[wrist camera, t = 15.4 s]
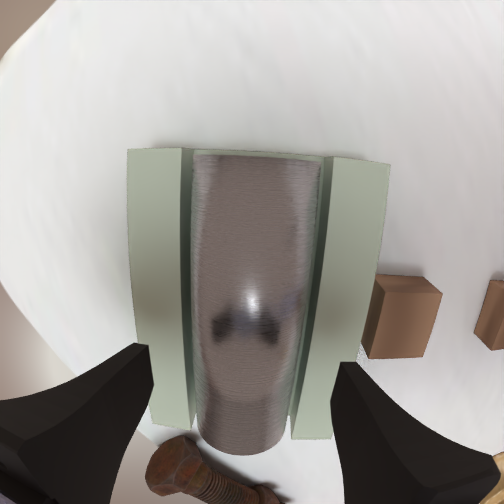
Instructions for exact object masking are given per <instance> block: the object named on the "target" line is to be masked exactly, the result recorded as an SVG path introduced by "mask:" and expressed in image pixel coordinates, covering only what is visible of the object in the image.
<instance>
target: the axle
mask: <svg viewBox="0 0 504 504" xmlns="http://www.w3.org/2000/svg"><path fill="white" fill-rule="evenodd" d="M320 172H321V162H316V161H308V160H298V159H287V158H274V157H260V156H241V155H207V154H194V155H193V160H192V187H191V319H192V346H193V367H194V384H195V399H196V413H197V425H198V430H199V432H200V435H201V436H202V438H203V439H204V440H205V441H206V442H207V443H208V444H209V445H210V446H212V447H214V448H215V449H217V450H219V451H221V452H224V453H228V454H232V455H254V454H258V453H261V452H264V451H266V450H268V449H270V448H272V447H273V446H275V445H276V444H277V443H278V442H279V441H280V439H281V438H282V436H283V434H284V431H285V426H286V421H287V416H288V411H289V405H290V400H291V395H292V389H293V384H294V378H295V372H296V366H297V361H298V354H299V348H300V342H301V336H302V329H303V322H304V315H305V308H306V301H307V294H308V286H309V279H310V271H311V263H312V254H313V245H314V236H315V227H316V217H317V207H318V196H319V184H320Z"/></svg>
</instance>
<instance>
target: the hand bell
mask: <svg viewBox="0 0 504 504" xmlns="http://www.w3.org/2000/svg"><path fill="white" fill-rule="evenodd" d="M493 459H494V461H495V463H496V464H497V466H498V468H499V470H500V472H501V478H500V480H499V482H498V484H497V485H496V486H495V487H494V489H493V490H492V491H491V492H490V493H489V494H488V495H487V496H486V497H485V498H484V499H483V500H482V501H481V502H480V504H504V452H501V453H499V454H497V455H495V456H493Z"/></svg>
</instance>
